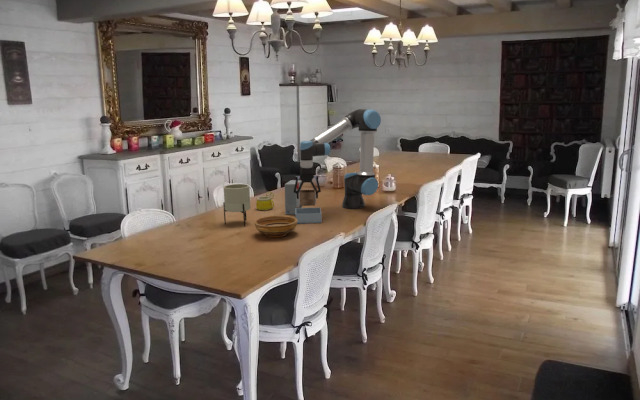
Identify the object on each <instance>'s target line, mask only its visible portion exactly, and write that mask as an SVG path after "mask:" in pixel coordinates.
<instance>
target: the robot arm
mask: <svg viewBox="0 0 640 400" xmlns="http://www.w3.org/2000/svg"><path fill="white" fill-rule="evenodd" d="M381 123H382V118H381V115H380V114H379V112H378V111H377V110H375V109H371V108H367V109H366V108H365V109H363V108H359V109H355V110H353V111H351V112H349V113H348V114H347V115H344V116H343V117H342V118H341V120H340V121H338V122H336V123H334V124H333V125H332V126H330V127H329V128H327V129H325V130H324V131H323V132H321V133H320V134H318V135H316V136H315V137H313V138H312V139H310V140H301V141H300V143H299V155H300V157H299V159H300V161H299V162H300V163H299V164H300V169H299V170H300V175H298V176H297V175H296V176H295V180H296V182H295V187H294V193H296V194H297V199H299V204H300V193H299V191H300V189H301V190H302V187H303V185H304V184H305V183H310V185H311V186H312V188H313V190H315V205H317V199H319V193H321V192H322V191H321V186H320V183H319V175H314V157H322V156H323V157H324V156H328V155H330V154H331V146H330V145H331V144H330V142H332V141H334V140H336V138H338V137H339V136H342V135H343V134H345V133H346V132H347V131H352V130H353V129H356V128H358V132H359V133H360V145H359V146H360V148H359V171H357V172H347V173H345V174H344V178H343V180H344V181H343V182H344V196H343V200H342V205H341V207H342V208H344V209H350V210H355V209H356V210H357V209H362V208H365V207H366V203H365V199H364V198H363V197H364V196H371V195H374V194H375V193H376V192H377V190H378V188H379V182H378V180H377V178H376V173H375V172H374V154H375V153H374V149H375V146H374V145H375V134H376V133H377V132H378V128H379V126H381ZM298 180H301V184H300V186H299V188H298V190H297V191H296V188H297V183H298ZM313 180H315V182H316V186H317V188H316V186H315V183H314V182H313Z"/></svg>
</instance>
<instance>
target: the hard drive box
mask: <svg viewBox="0 0 640 400" xmlns="http://www.w3.org/2000/svg"><path fill="white" fill-rule="evenodd" d="M295 182H296V179H292V180H291V179H290V180H289V181H288V182H286V183H285V184H284V212H285V213H284V215H294V216H295V208H303V206H300V204H299V199H297V194H296V193H294V187H295ZM301 182H302V180H301V179H299V180H298V183H297V188H296V191H297V190H298V188H299V186H300V184H301ZM300 190H302V188H301V189H300ZM299 193H300V191H299Z"/></svg>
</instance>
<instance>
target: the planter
mask: <svg viewBox="0 0 640 400" xmlns="http://www.w3.org/2000/svg"><path fill="white" fill-rule="evenodd" d="M250 193H251V191H250V185H249V184H244V183H232V184H228V185H224V186H223V199H224V200H223V218H224V225H226V224H227V222H226V221H227V220H226V212H231V213H241V214H242V215H243V216H242V217H243V227H246V221H247V211H248V210H251V194H250Z"/></svg>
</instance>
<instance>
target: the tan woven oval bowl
mask: <svg viewBox="0 0 640 400" xmlns="http://www.w3.org/2000/svg"><path fill="white" fill-rule="evenodd" d="M297 221H298V219H297V218H295V217H294V216H289V215H268V216H263V217H259V218H256V219H255V220H254V221H253V224H254V226H255V229H256V230H257V231H258V232H260V233H262V234H264V235H266V236H267V237H270V238H281V237H284V236H286V235H287V234H288V233H290V232H293V230H295V229H296V227H297V225H298V224H297Z"/></svg>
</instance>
